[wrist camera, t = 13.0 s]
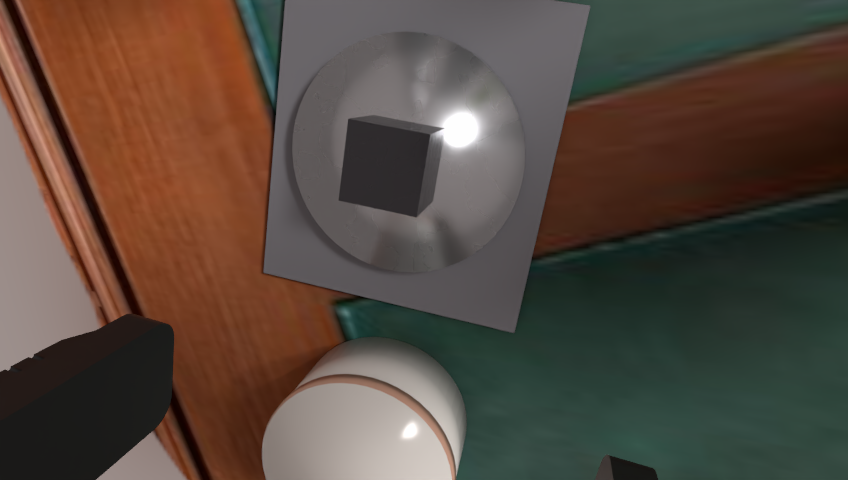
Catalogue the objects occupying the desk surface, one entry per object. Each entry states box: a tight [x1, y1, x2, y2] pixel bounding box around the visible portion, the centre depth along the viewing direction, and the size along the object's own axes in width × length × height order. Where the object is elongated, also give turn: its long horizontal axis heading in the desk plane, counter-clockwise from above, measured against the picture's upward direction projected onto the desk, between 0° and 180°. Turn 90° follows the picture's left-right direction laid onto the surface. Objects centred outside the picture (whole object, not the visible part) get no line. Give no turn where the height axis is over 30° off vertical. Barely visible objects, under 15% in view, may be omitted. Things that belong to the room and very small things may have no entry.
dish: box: [262, 337, 467, 480], centre depth 34 cm, size 11×11×6 cm
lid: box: [292, 31, 525, 272], centre depth 29 cm, size 13×13×5 cm
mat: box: [263, 0, 590, 333], centre depth 31 cm, size 18×16×1 cm
